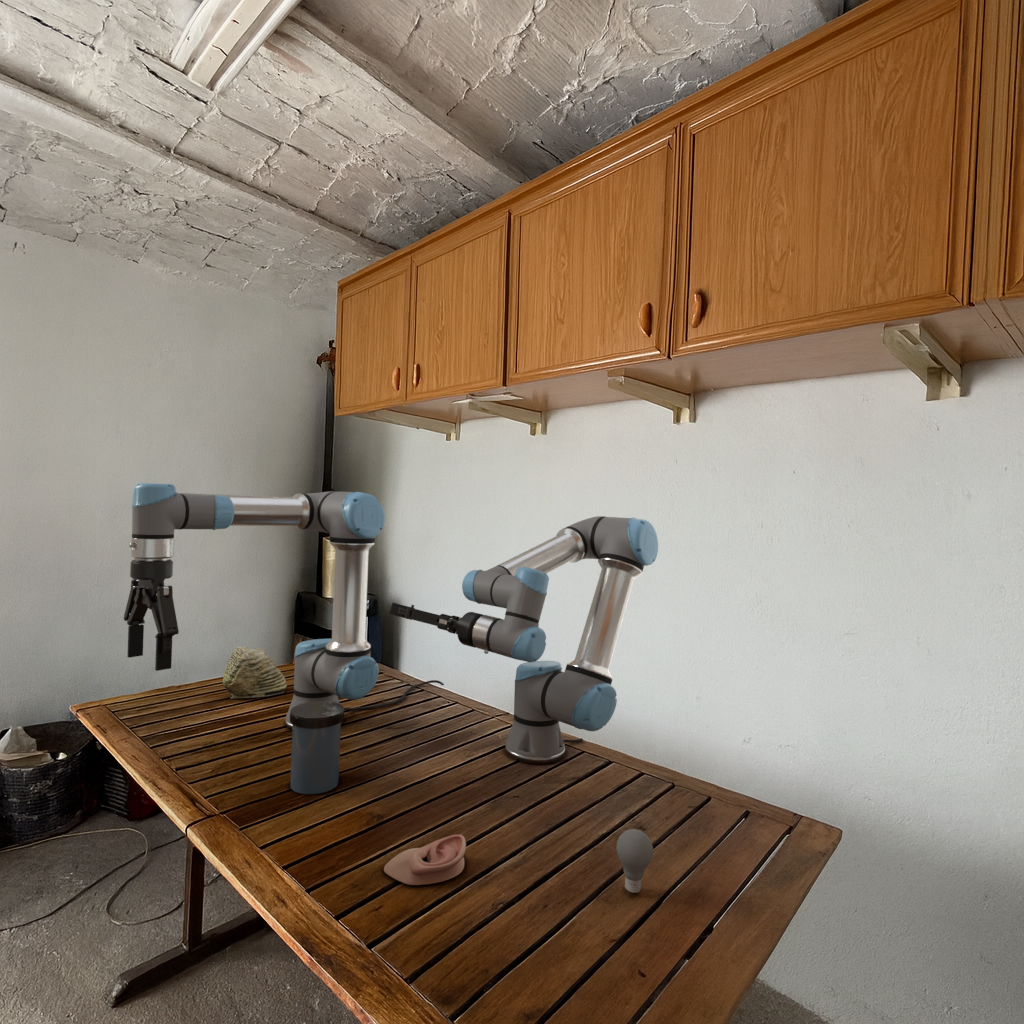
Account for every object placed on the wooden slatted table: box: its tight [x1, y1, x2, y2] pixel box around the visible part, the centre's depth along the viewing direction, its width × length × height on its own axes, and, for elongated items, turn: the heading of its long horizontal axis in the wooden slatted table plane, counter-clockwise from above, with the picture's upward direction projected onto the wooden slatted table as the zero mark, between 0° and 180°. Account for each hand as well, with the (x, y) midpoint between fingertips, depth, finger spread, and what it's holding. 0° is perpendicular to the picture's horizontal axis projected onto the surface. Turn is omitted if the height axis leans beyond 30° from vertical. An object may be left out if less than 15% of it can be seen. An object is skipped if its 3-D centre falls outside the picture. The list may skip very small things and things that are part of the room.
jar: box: [289, 722, 342, 795], centre depth 140 cm, size 10×10×16 cm
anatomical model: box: [383, 834, 467, 886], centre depth 110 cm, size 13×4×12 cm
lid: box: [290, 701, 345, 728], centre depth 139 cm, size 11×11×2 cm
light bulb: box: [615, 828, 654, 894], centre depth 106 cm, size 6×6×10 cm
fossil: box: [222, 646, 288, 699], centre depth 198 cm, size 9×18×15 cm, turn 132°
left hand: (148, 662), depth 129 cm, fingers open, 13 cm apart
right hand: (410, 613), depth 153 cm, fingers open, 13 cm apart
